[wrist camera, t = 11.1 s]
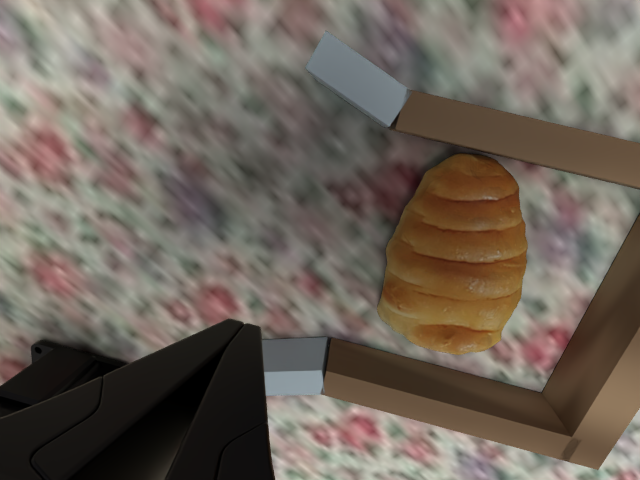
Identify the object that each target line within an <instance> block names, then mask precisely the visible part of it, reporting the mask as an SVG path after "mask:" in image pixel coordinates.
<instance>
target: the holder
mask: <svg viewBox="0 0 640 480" xmlns="http://www.w3.org/2000/svg"><path fill="white" fill-rule="evenodd" d="M305 69H306V70H307V71H308V72H309V73H310V74H311V75H312V77H313V78H314V79H315V80H317V81H318V82H320V83H321V84H322V85H324V86H325V87H327V88H328V89H330V90H331V91H332V92H334V93H335V94H337V95H338V96H340V97H341V98H343V99H344V100H345V101H347V102H348V103H350V104H351V105H353V106H354V107H356V108H357V109H358V110H360V111H361V112H363V113H364V114H366V115H367V116H368V117H370V118H371V119H373V120H374V121H376V122H377V123H379V124H380V125H381V126H383V127H384V128H385V127H389V126H390V125H391V126H390V130H393V131H397V132H401V133H405V134H409V135H414V136H418V137H422V138H426V139H430V140H435V141H439V142H443V143H447V144H451V145H456V146H460V147H464V148H468V149H472V150H477V151H481V152H485V153H489V154H493V155H497V156H502V157H506V158H510V159H514V160H518V161H523V162H527V163H531V164H535V165H539V166H544V167H548V168H552V169H556V170H560V171H565V172H569V173H573V174H577V175H581V176H586V177H590V178H594V179H598V180H602V181H606V182H611V183H615V184H619V185H623V186H627V187H632V188H636V189H640V143H636V142H632V141H627V140H623V139H619V138H614V137H610V136H606V135H602V134H597V133H593V132H589V131H584V130H580V129H576V128H572V127H567V126H563V125H559V124H554V123H550V122H546V121H542V120H537V119H533V118H529V117H524V116H520V115H516V114H512V113H507V112H503V111H499V110H494V109H490V108H486V107H481V106H477V105H473V104H469V103H464V102H460V101H456V100H451V99H447V98H443V97H439V96H434V95H430V94H426V93H421V92H417V91H413V90H409V89H408V88H407V87H405V86H404V85H402V84H401V83H400V82H398V81H397V80H395V79H394V78H392V77H391V76H390V75H388V74H387V73H385V72H384V71H383V70H381V69H380V68H378V67H377V66H376V65H374V64H373V63H371V62H370V61H368V60H367V59H366V58H364V57H363V56H361V55H360V54H359V53H357V52H356V51H354V50H353V49H352V48H350V47H349V46H347V45H346V44H344V43H343V42H342V41H340V40H339V39H337V38H336V37H335V36H333V35H332V34H330V33H329V32H328V31H325V33H324V35H323V37H322V38H321V40H320V42H319V44H318V46H317V47H316V49H315V51H314V53H313V55H312V56H311V58H310V60H309V62H308V63H307V65H306V67H305ZM262 348H263V362H264V376H265V389H266V396H277V395H326V396H329V397H333V398H337V399H340V400H344V401H348V402H351V403H355V404H359V405H362V406H366V407H370V408H373V409H377V410H381V411H384V412H388V413H392V414H395V415H399V416H403V417H406V418H410V419H414V420H417V421H421V422H425V423H428V424H432V425H436V426H439V427H443V428H447V429H450V430H454V431H458V432H461V433H465V434H469V435H472V436H476V437H480V438H483V439H487V440H491V441H494V442H498V443H502V444H505V445H509V446H513V447H516V448H520V449H524V450H527V451H531V452H535V453H538V454H542V455H546V456H549V457H553V458H557V459H560V460H564V461H568V462H571V463H575V464H579V465H582V466H586V467H590V468H593V469H597V470H598V469H599V468H600V466H601V465H602V463H603V462H604V460H605V459H606V457H607V456H608V454H609V453H610V451H611V450H612V448H613V447H614V445H615V444H616V442H617V441H618V439H619V438H620V436H621V435H622V433H623V432H624V431H625V429H626V428H627V426H628V425H629V423H630V422H631V420H632V419H633V417H634V416H635V414H636V413H637V411H638V410H639V408H640V214H639V216H638V218H637V220H636V222H635V224H634V225H633V227H632V229H631V231H630V233H629V235H628V236H627V238H626V240H625V242H624V244H623V245H622V247H621V249H620V251H619V253H618V255H617V256H616V258H615V260H614V262H613V264H612V266H611V267H610V269H609V271H608V273H607V275H606V277H605V278H604V280H603V282H602V284H601V286H600V288H599V289H598V291H597V293H596V295H595V297H594V298H593V300H592V302H591V304H590V306H589V308H588V309H587V311H586V313H585V315H584V317H583V319H582V320H581V322H580V324H579V326H578V328H577V330H576V331H575V333H574V335H573V337H572V339H571V341H570V342H569V344H568V346H567V348H566V350H565V352H564V353H563V355H562V357H561V359H560V361H559V362H558V364H557V366H556V368H555V370H554V372H553V373H552V375H551V377H550V379H549V381H548V383H547V384H546V386H545V388H544V390H543V392H542V393H539V392H535V391H531V390H528V389H524V388H520V387H516V386H512V385H509V384H505V383H501V382H497V381H494V380H490V379H486V378H482V377H479V376H475V375H471V374H467V373H463V372H460V371H456V370H452V369H448V368H445V367H441V366H437V365H433V364H430V363H426V362H422V361H418V360H414V359H411V358H407V357H403V356H399V355H396V354H392V353H388V352H384V351H381V350H377V349H373V348H369V347H365V346H362V345H358V344H354V343H350V342H347V341H343V340H339V339H335V338H331V341H330V345H329V346H328V339H327V337H315V338H292V339H269V340H262Z"/></svg>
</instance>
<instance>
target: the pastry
mask: <svg viewBox="0 0 640 480" xmlns="http://www.w3.org/2000/svg"><path fill="white" fill-rule="evenodd" d="M527 248H528V244H527V240H526V237H525V222H524V220H523V218H522V213H521V210H520V201H519V186H518V184H517V182H516V181H515V179H514V178H513V176H512V175H511V174H510V173H509V172H508V171H507V170H506V169H505V168H504V167H503V166H502V165H501V164H499V163H498V161H496V160H495V159H493V158H491V157H488V156H484V155H479V154H466V153H459V154H455V155H452V156H451V157H449V158H447V159H446V160H444V161H442V162H441V163H439V164H438V165H436V166H434V167H432V168H431V169H429V170H428V171H427V172H426V173H425V174H424V176H423V178H422V181H421V183H420V185H419V187H418V188H417V190H416V192H415V195H414V197H413V198H412V199H411V200H410V202H409V203H408V204H407V205H406V206H405V208H404V211H403V214H402V216H401V219H400V222H399V225H398V226H397V227H396V230H395V233H394V234H393V236H392V238H391V239H390V240H389V242H388V244H387V247H386V256H387V266H386V270H385V276H384V283H383V290H382V296H381V299H380V301H379V303H378V307H377V311H378V314H379V316H380V318H381V319H382V321H384V322H385V323H386V324H388V325H389V326H391V328H392V329H393V330H394V331H395V332H397V333H399V334H402V335H404V336H405V337H406V338H407V339H408V340H409V341H411V342H412V343H414V344H416V345H418V346H421V347H424V348H428V349H431V350H435V351H440V352H445V353H451V354H456V355H461V354H465V353H468V352H481V351H485V350H486V349H488V348H490V347H492V346H493V345H495V344H496V343H497V342H499V341H500V340H501V332H502V330H503V327H504V326H505V324H506V322H507V321H508V319H509V318H510V317H511V315H512V313H513V311H514V309H515V308H516V307H517V304H518V302H519V300H520V298H521V291H522V279H523V276H524V274H525V270H526V263H527V260H526V251H527Z"/></svg>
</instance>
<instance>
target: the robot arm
mask: <svg viewBox="0 0 640 480" xmlns="http://www.w3.org/2000/svg"><path fill="white" fill-rule="evenodd" d="M31 355H32V364H31V365H30V366H28V367H27V368H25V369H24V370H22V371H21V372H20V373H18V374H17V375H15V376H14V377H13V378H11V379H10V380H8V381H7V382H5V383H4V384H3V385H1V386H0V480H275V476H274V470H273V465H272V458H271V449H270V441H269V428H268V417H267V403H266V389H265V376H264V362H263V348H262V334H261V327H259V326H256V325H252V324H248V323H246V324H244V323H243V322H241V321H237V320H233V319H227V320H225V321H222V322H220V323H218V324H216V325H214V326H211V327H209V328H207V329H205V330H203V331H200V332H198V333H196V334H194V335H192V336H189V337H187V338H185V339H183V340H181V341H178V342H176V343H174V344H172V345H170V346H167V347H165V348H163V349H161V350H159V351H156V352H154V353H152V354H150V355H147V356H145V357H143V358H141V359H139V360H136V361H134V362H132V363H130V364H128V365H126V364H125V363H123V362H119V361H116V360H112V359H109V358H105V357H101V356H98V355H94V354H90V353H87V352H83V351H80V350H76V349H72V348H69V347H65V346H61V345H58V344H54V343H50V342H47V341H43V340H40V341H38V342H36V343H35V344H33V345H32V346H31Z"/></svg>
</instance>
